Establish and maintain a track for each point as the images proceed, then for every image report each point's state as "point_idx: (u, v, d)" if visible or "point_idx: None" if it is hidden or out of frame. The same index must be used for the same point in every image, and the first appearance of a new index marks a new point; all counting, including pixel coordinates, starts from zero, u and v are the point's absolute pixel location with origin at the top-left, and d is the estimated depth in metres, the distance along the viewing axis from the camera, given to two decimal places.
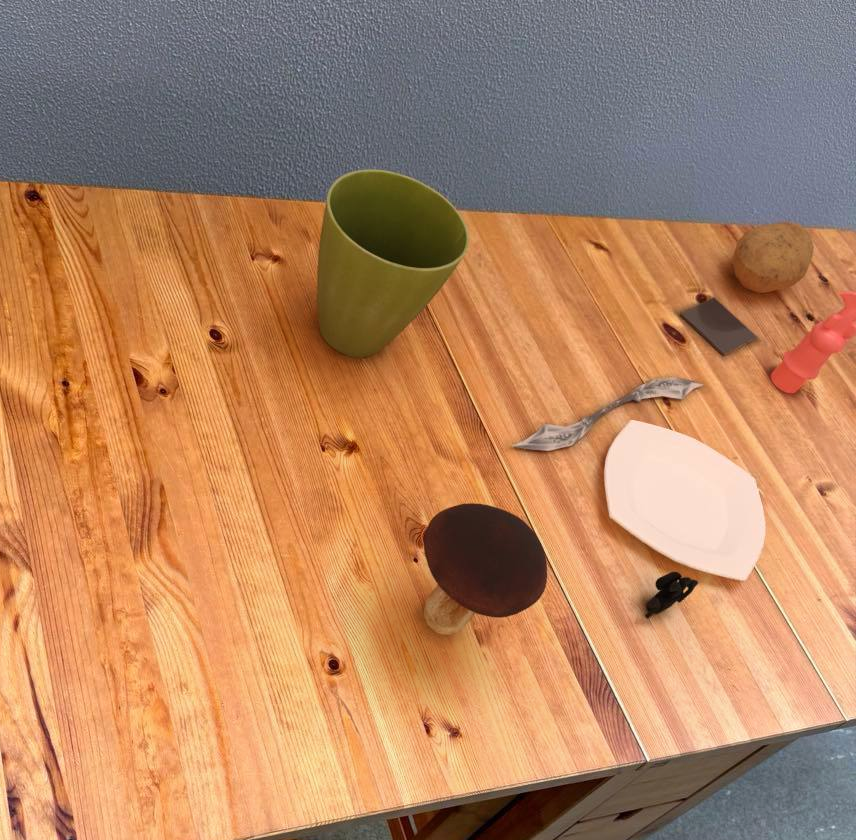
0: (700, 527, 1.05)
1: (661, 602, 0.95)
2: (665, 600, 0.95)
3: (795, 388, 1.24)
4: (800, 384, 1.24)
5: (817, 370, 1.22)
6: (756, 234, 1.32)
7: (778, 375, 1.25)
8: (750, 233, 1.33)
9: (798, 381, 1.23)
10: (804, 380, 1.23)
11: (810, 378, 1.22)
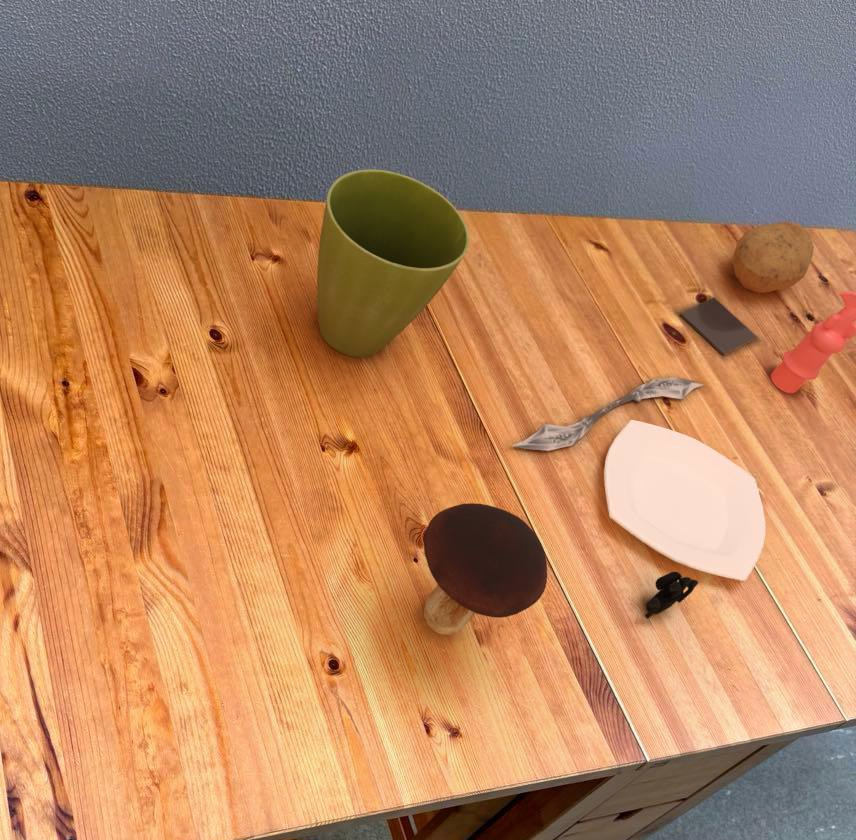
0: (700, 527, 1.05)
1: (661, 602, 0.95)
2: (665, 600, 0.95)
3: (795, 388, 1.24)
4: (800, 384, 1.24)
5: (817, 370, 1.22)
6: (756, 234, 1.32)
7: (778, 375, 1.25)
8: (750, 233, 1.33)
9: (798, 381, 1.23)
10: (804, 380, 1.23)
11: (810, 378, 1.22)
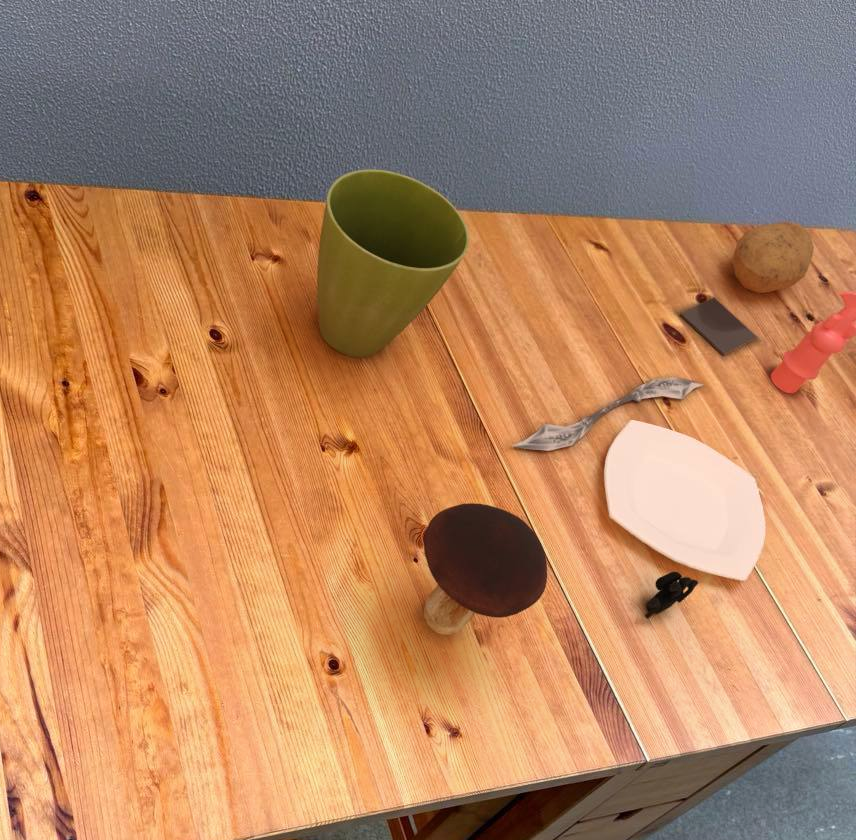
0: (700, 527, 1.05)
1: (661, 602, 0.95)
2: (665, 600, 0.95)
3: (795, 388, 1.24)
4: (800, 384, 1.24)
5: (817, 370, 1.22)
6: (756, 234, 1.32)
7: (778, 375, 1.25)
8: (750, 233, 1.33)
9: (798, 381, 1.23)
10: (804, 380, 1.23)
11: (810, 378, 1.22)
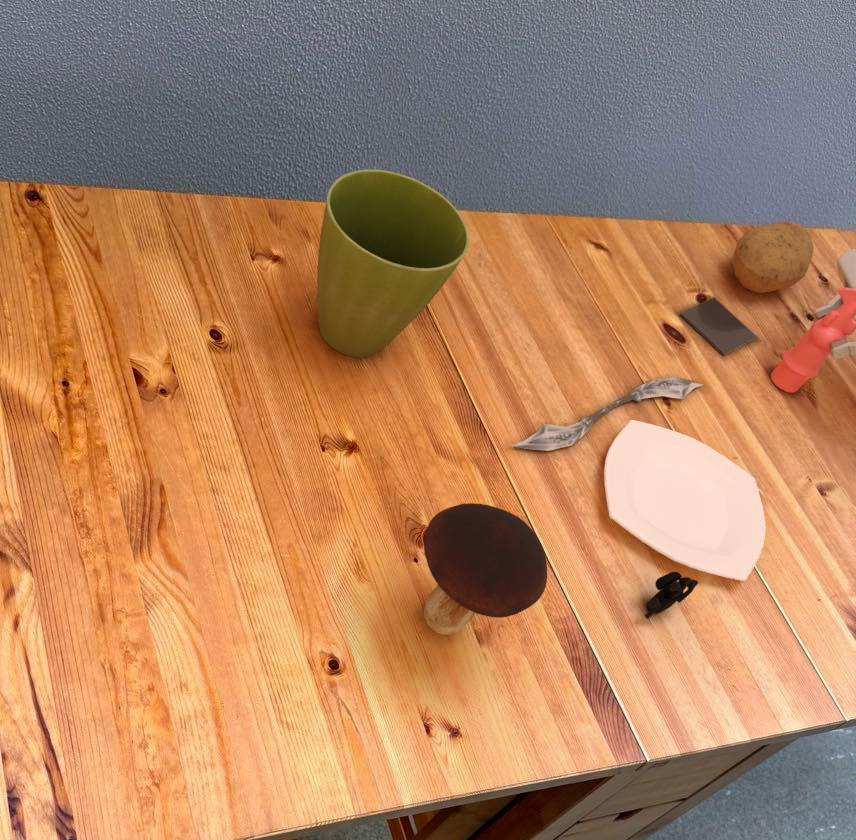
0: (700, 527, 1.05)
1: (661, 602, 0.95)
2: (665, 600, 0.95)
3: (796, 387, 1.24)
4: (801, 383, 1.24)
5: (817, 368, 1.22)
6: (756, 234, 1.32)
7: (778, 374, 1.25)
8: (750, 233, 1.33)
9: (799, 380, 1.23)
10: (804, 379, 1.23)
11: (810, 376, 1.22)
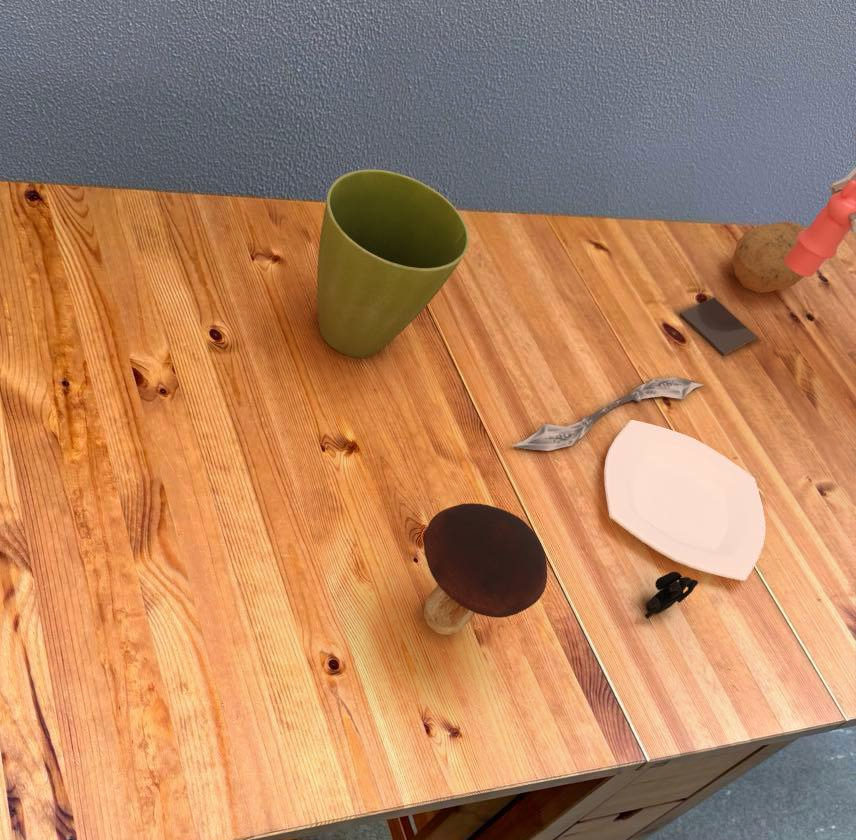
0: (700, 527, 1.05)
1: (661, 602, 0.95)
2: (665, 600, 0.95)
3: (812, 270, 1.16)
4: (817, 265, 1.16)
5: (835, 247, 1.14)
6: (756, 234, 1.32)
7: (793, 257, 1.16)
8: (750, 233, 1.33)
9: (815, 261, 1.15)
10: (821, 260, 1.15)
11: (828, 256, 1.14)
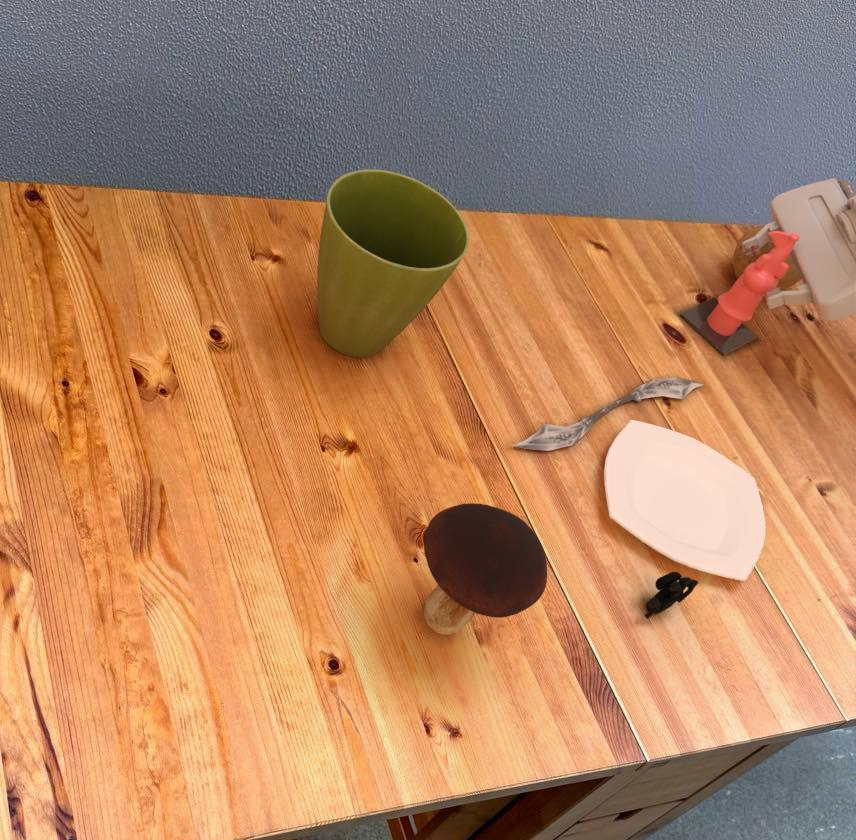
0: (700, 527, 1.05)
1: (661, 602, 0.95)
2: (665, 600, 0.95)
3: (730, 330, 1.27)
4: (735, 326, 1.27)
5: (751, 311, 1.25)
6: None
7: (714, 318, 1.27)
8: (750, 233, 1.33)
9: (733, 323, 1.26)
10: (739, 322, 1.26)
11: (744, 319, 1.25)
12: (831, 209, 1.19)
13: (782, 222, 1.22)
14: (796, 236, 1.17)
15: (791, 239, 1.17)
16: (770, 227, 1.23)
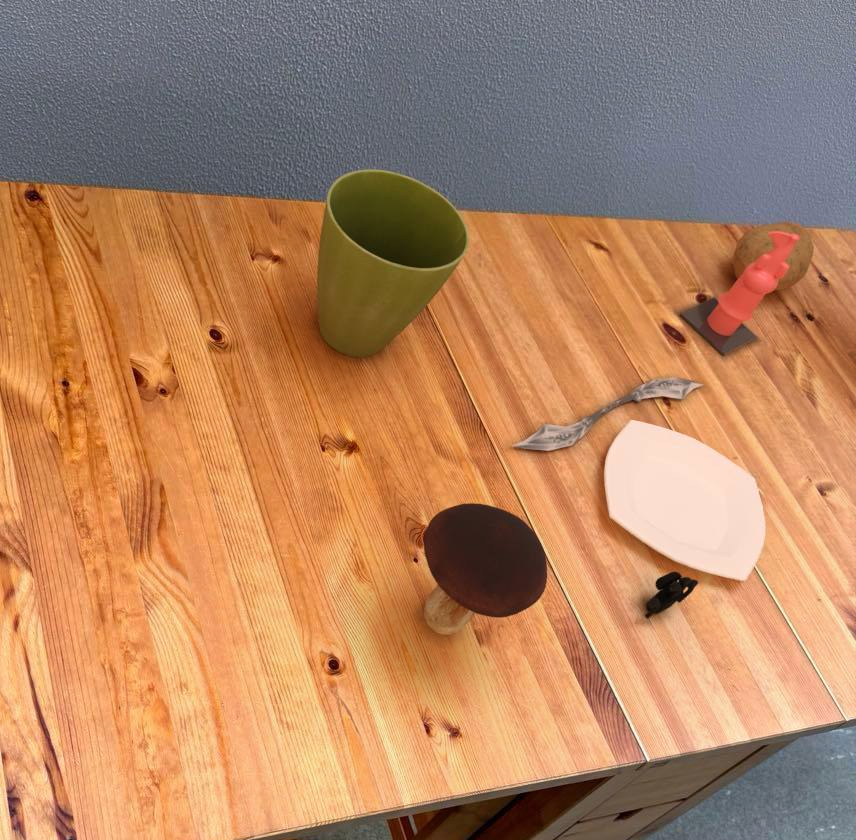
0: (700, 527, 1.05)
1: (661, 602, 0.95)
2: (665, 600, 0.95)
3: (730, 330, 1.27)
4: (735, 326, 1.27)
5: (751, 311, 1.25)
6: (756, 234, 1.32)
7: (714, 318, 1.27)
8: (750, 233, 1.33)
9: (733, 323, 1.26)
10: (739, 322, 1.26)
11: (744, 319, 1.25)
12: None
13: None
14: (796, 236, 1.17)
15: (791, 239, 1.17)
16: None
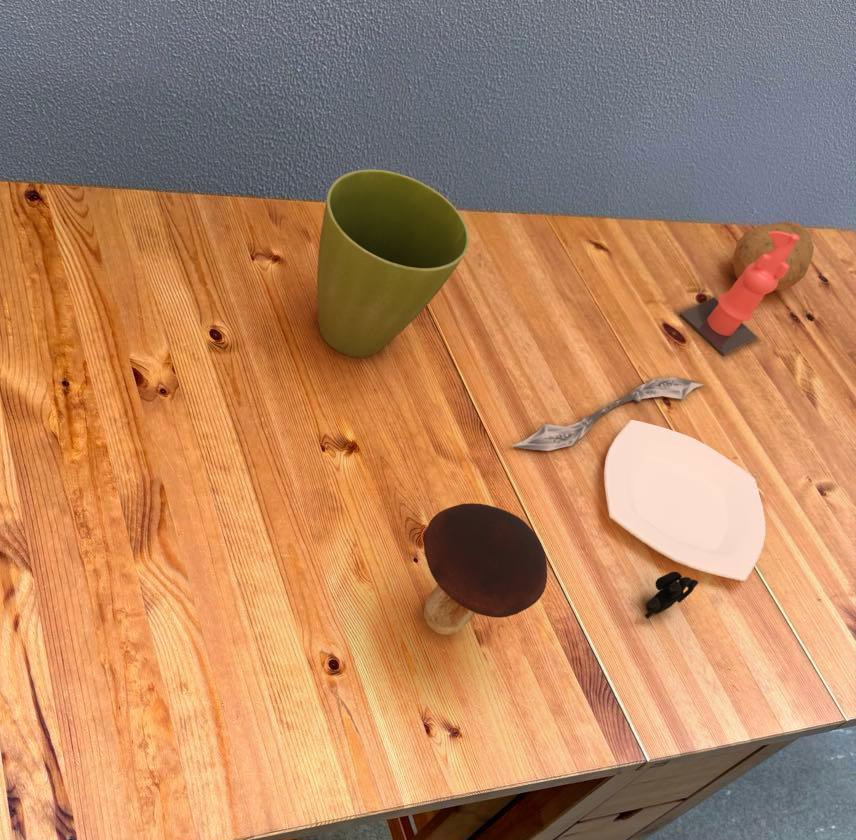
0: (700, 527, 1.05)
1: (661, 602, 0.95)
2: (665, 600, 0.95)
3: (730, 330, 1.27)
4: (735, 326, 1.27)
5: (751, 311, 1.25)
6: (756, 234, 1.32)
7: (714, 318, 1.27)
8: (750, 233, 1.33)
9: (733, 323, 1.26)
10: (739, 322, 1.26)
11: (744, 319, 1.25)
12: None
13: None
14: (796, 236, 1.17)
15: (791, 239, 1.17)
16: None
